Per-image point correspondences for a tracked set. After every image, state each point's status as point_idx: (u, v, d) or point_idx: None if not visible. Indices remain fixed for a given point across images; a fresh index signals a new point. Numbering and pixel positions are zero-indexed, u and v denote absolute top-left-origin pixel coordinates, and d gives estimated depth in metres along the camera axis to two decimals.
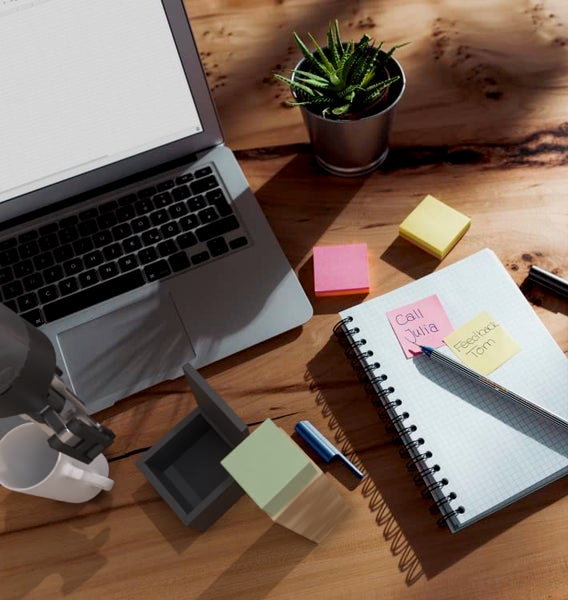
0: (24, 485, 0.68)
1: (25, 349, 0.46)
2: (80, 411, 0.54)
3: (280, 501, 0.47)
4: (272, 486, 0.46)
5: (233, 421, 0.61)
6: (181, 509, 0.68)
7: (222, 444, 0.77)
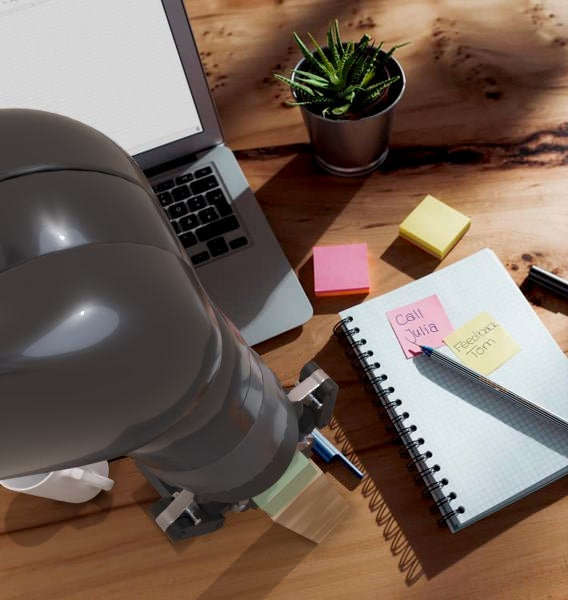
0: (24, 485, 0.68)
1: (209, 492, 0.33)
2: None
3: (280, 501, 0.47)
4: (272, 486, 0.46)
5: None
6: None
7: None
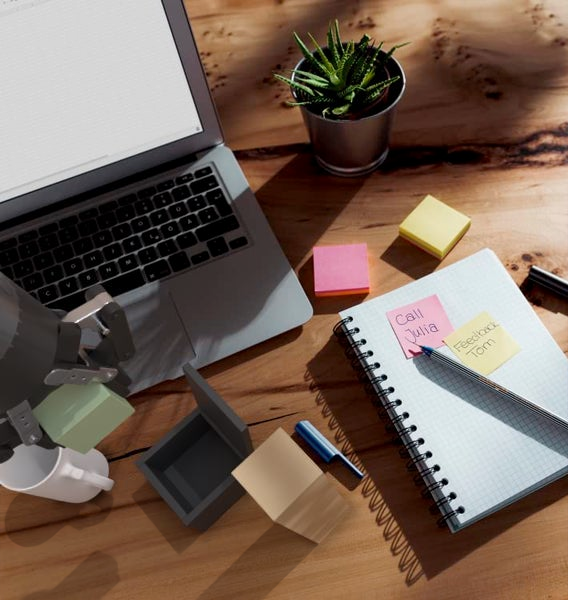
0: (24, 485, 0.68)
1: None
2: (15, 429, 0.41)
3: (85, 437, 0.46)
4: (68, 419, 0.44)
5: (233, 421, 0.61)
6: (181, 509, 0.68)
7: (222, 444, 0.77)
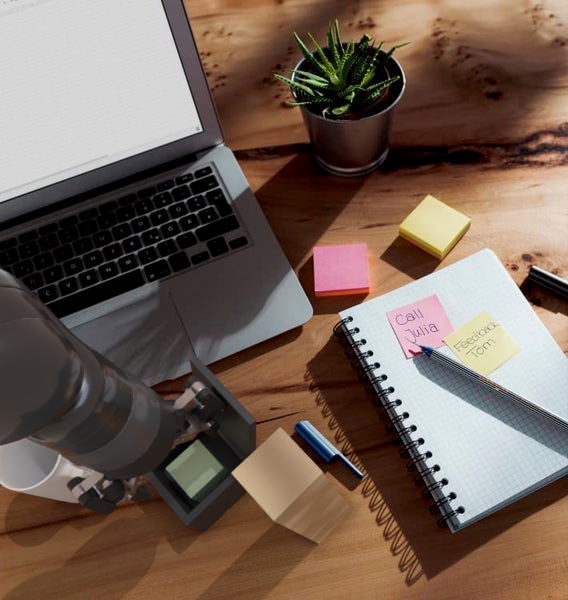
0: (24, 485, 0.68)
1: (104, 470, 0.50)
2: (128, 486, 0.59)
3: (205, 493, 0.72)
4: (198, 483, 0.70)
5: (241, 414, 0.62)
6: (181, 509, 0.68)
7: (222, 444, 0.77)
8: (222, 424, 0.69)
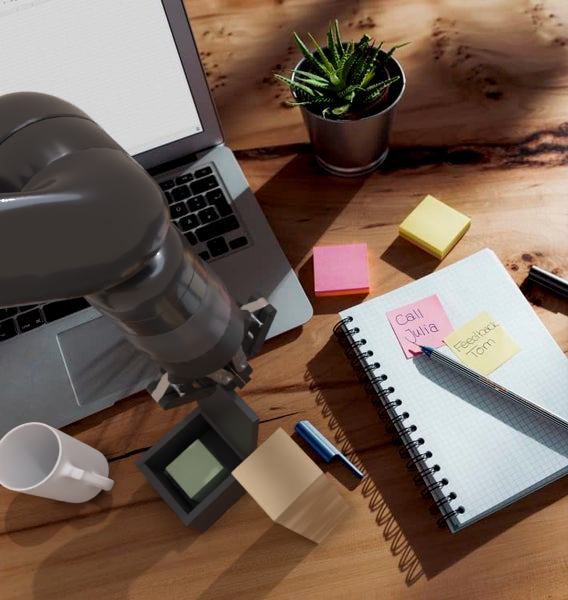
0: (24, 485, 0.68)
1: (173, 361, 0.47)
2: None
3: (205, 493, 0.72)
4: (198, 483, 0.70)
5: (245, 412, 0.62)
6: (181, 509, 0.68)
7: (222, 444, 0.77)
8: (223, 423, 0.69)
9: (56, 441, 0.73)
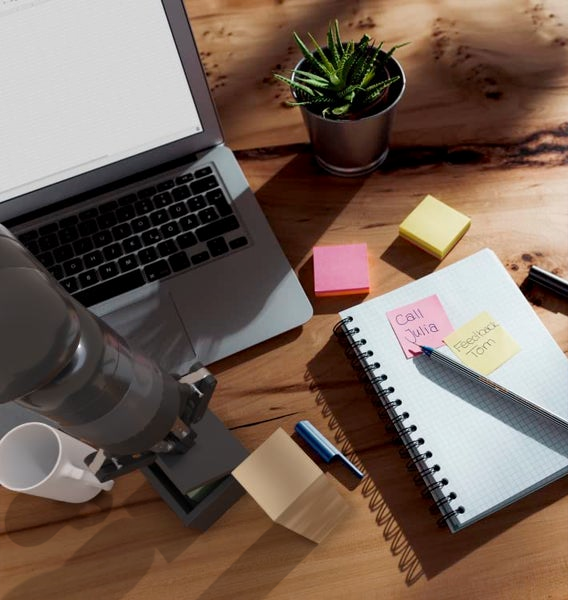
0: (24, 485, 0.68)
1: (103, 443, 0.47)
2: None
3: (205, 493, 0.72)
4: None
5: (175, 484, 0.61)
6: (181, 509, 0.68)
7: None
8: None
9: (56, 441, 0.73)
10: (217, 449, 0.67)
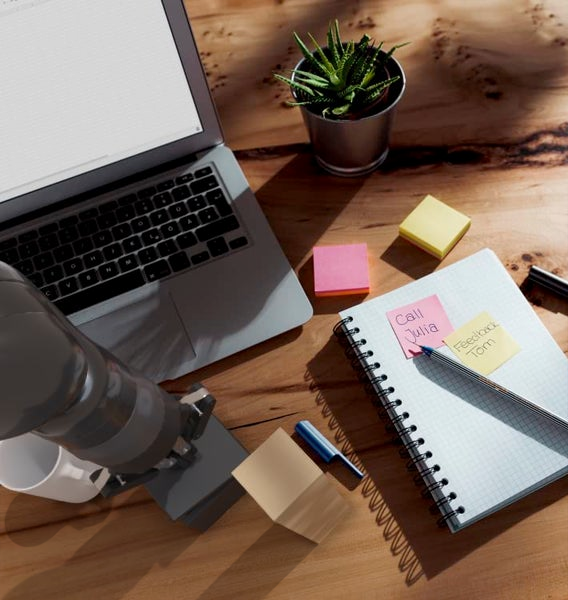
0: (24, 485, 0.68)
1: (108, 464, 0.50)
2: None
3: None
4: None
5: None
6: None
7: None
8: None
9: None
10: (211, 460, 0.68)
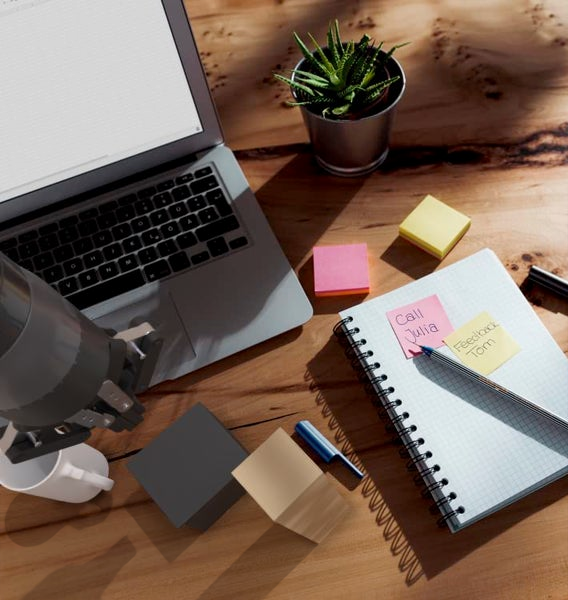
0: (24, 485, 0.68)
1: None
2: None
3: None
4: None
5: None
6: None
7: None
8: None
9: None
10: (211, 464, 0.69)
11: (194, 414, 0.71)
